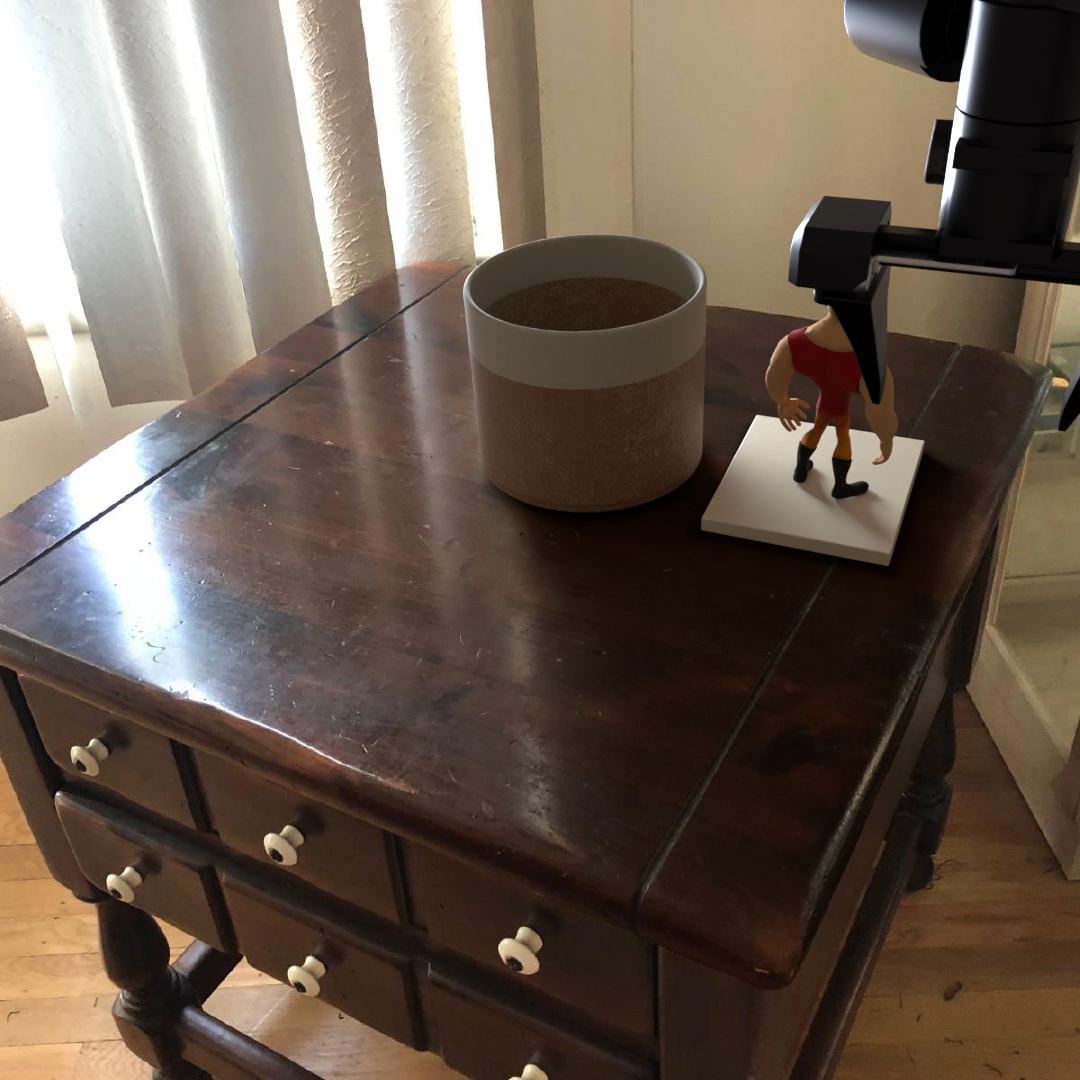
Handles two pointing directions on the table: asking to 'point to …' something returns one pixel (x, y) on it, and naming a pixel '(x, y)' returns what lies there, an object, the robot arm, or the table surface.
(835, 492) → the action figure
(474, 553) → the table surface
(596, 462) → the planter
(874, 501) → the display board
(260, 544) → the table surface
